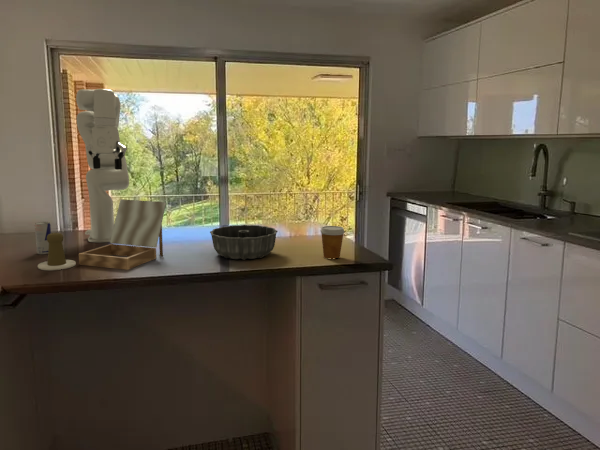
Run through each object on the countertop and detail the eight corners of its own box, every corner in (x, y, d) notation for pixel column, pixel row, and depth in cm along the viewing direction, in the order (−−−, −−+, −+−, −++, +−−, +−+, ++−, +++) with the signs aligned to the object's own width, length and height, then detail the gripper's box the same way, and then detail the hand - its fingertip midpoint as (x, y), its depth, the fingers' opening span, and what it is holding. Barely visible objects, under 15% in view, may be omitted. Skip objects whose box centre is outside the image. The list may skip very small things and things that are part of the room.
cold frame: (79, 264, 174) (75, 207, 170) (123, 249, 198) (121, 199, 194) (127, 269, 168) (125, 210, 164) (167, 253, 192) (166, 201, 188)
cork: (51, 261, 174) (49, 231, 172) (69, 261, 174) (67, 231, 172) (44, 265, 168) (41, 234, 166) (62, 265, 168) (59, 235, 166)
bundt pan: (222, 266, 175) (222, 239, 173) (202, 251, 198) (201, 227, 196) (288, 259, 187) (288, 234, 185) (261, 245, 210) (261, 223, 208)
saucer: (29, 268, 167) (29, 266, 167) (56, 260, 179) (56, 258, 178) (57, 271, 164) (57, 269, 164) (83, 263, 175) (83, 261, 175)
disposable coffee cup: (346, 256, 193) (348, 227, 191) (338, 261, 184) (339, 230, 182) (324, 253, 197) (325, 224, 195) (315, 258, 188) (316, 228, 186)
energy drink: (55, 252, 191) (53, 222, 189) (44, 255, 186) (42, 224, 184) (45, 250, 193) (42, 221, 191) (33, 253, 188) (31, 223, 186)
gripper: (79, 122, 180) (81, 168, 183) (118, 123, 175) (120, 170, 178) (93, 123, 187) (95, 167, 190) (131, 123, 183) (133, 169, 186)
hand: (107, 168), depth 184 cm, fingers open, 9 cm apart
